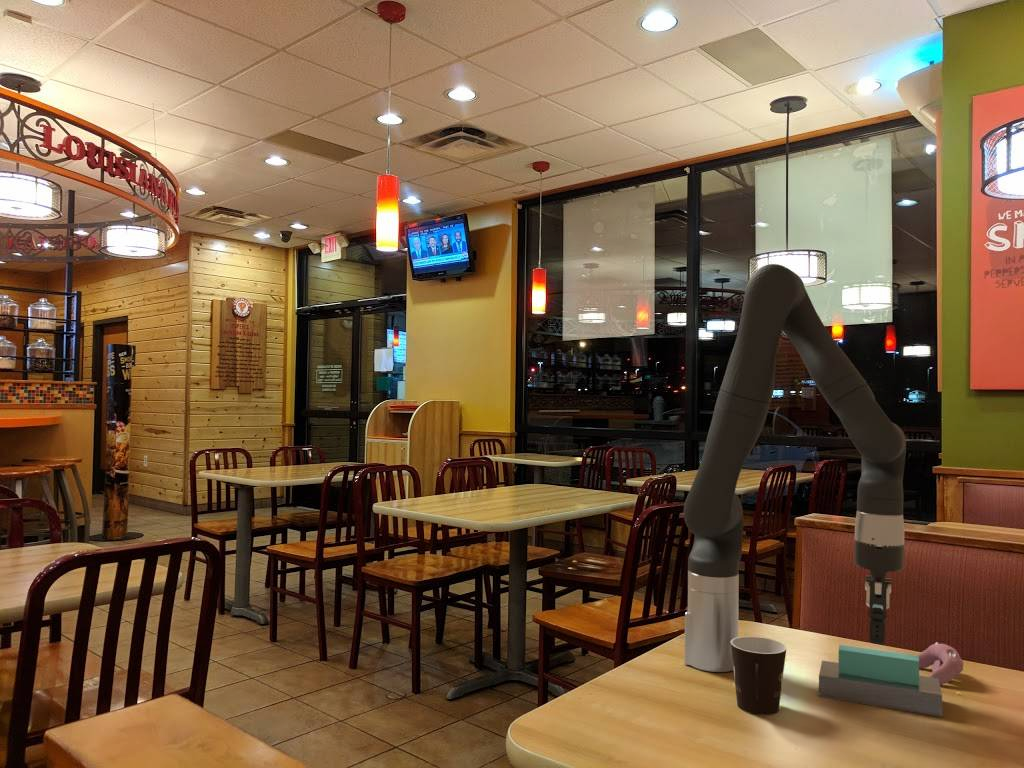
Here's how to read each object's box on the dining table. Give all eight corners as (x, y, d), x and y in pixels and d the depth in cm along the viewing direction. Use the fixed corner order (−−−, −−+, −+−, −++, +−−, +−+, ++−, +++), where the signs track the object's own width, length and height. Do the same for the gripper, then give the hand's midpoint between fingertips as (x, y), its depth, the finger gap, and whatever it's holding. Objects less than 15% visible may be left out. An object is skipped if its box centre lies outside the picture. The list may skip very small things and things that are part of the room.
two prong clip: (838, 691, 126) (838, 649, 127) (839, 685, 129) (839, 644, 129) (919, 704, 121) (919, 661, 121) (918, 698, 124) (918, 655, 124)
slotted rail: (818, 696, 126) (818, 675, 126) (822, 680, 133) (822, 660, 133) (942, 717, 118) (942, 695, 118) (938, 699, 125) (938, 678, 125)
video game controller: (953, 696, 130) (973, 661, 130) (928, 683, 131) (947, 648, 131) (932, 676, 140) (950, 643, 140) (908, 663, 141) (926, 631, 140)
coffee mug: (746, 692, 127) (746, 633, 127) (795, 707, 121) (795, 645, 121) (710, 711, 119) (710, 648, 119) (761, 729, 112) (761, 662, 113)
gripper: (855, 530, 134) (853, 621, 134) (853, 543, 121) (851, 644, 121) (903, 535, 130) (901, 628, 130) (905, 549, 118) (903, 652, 117)
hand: (876, 635), depth 126 cm, fingers open, 8 cm apart
